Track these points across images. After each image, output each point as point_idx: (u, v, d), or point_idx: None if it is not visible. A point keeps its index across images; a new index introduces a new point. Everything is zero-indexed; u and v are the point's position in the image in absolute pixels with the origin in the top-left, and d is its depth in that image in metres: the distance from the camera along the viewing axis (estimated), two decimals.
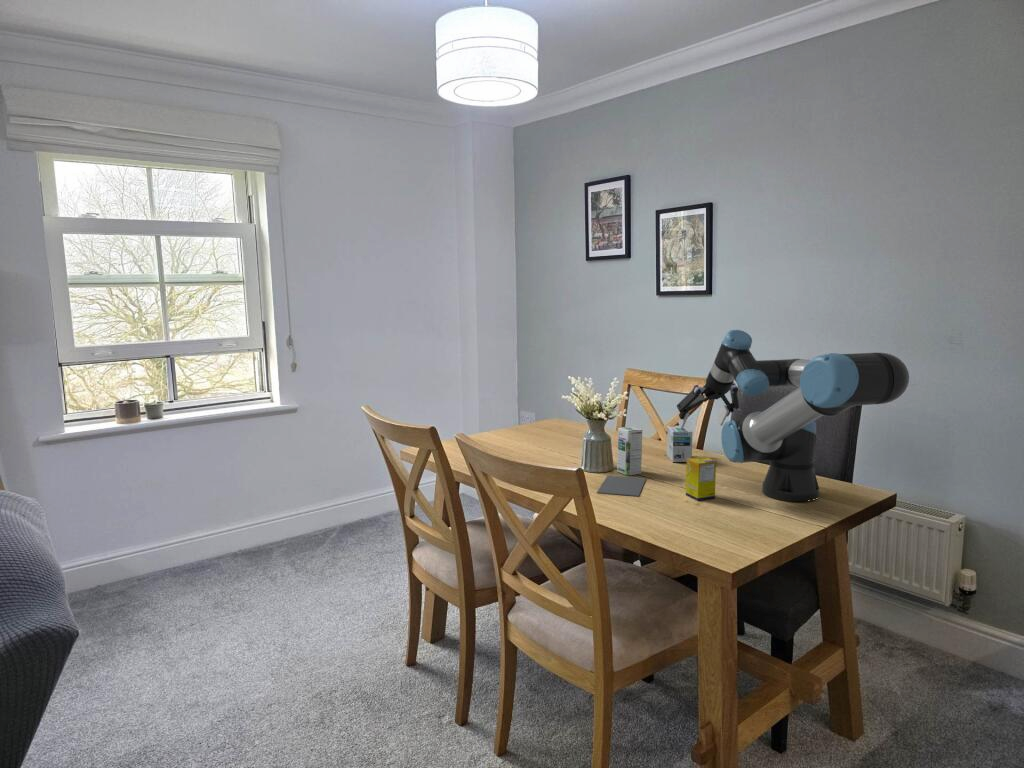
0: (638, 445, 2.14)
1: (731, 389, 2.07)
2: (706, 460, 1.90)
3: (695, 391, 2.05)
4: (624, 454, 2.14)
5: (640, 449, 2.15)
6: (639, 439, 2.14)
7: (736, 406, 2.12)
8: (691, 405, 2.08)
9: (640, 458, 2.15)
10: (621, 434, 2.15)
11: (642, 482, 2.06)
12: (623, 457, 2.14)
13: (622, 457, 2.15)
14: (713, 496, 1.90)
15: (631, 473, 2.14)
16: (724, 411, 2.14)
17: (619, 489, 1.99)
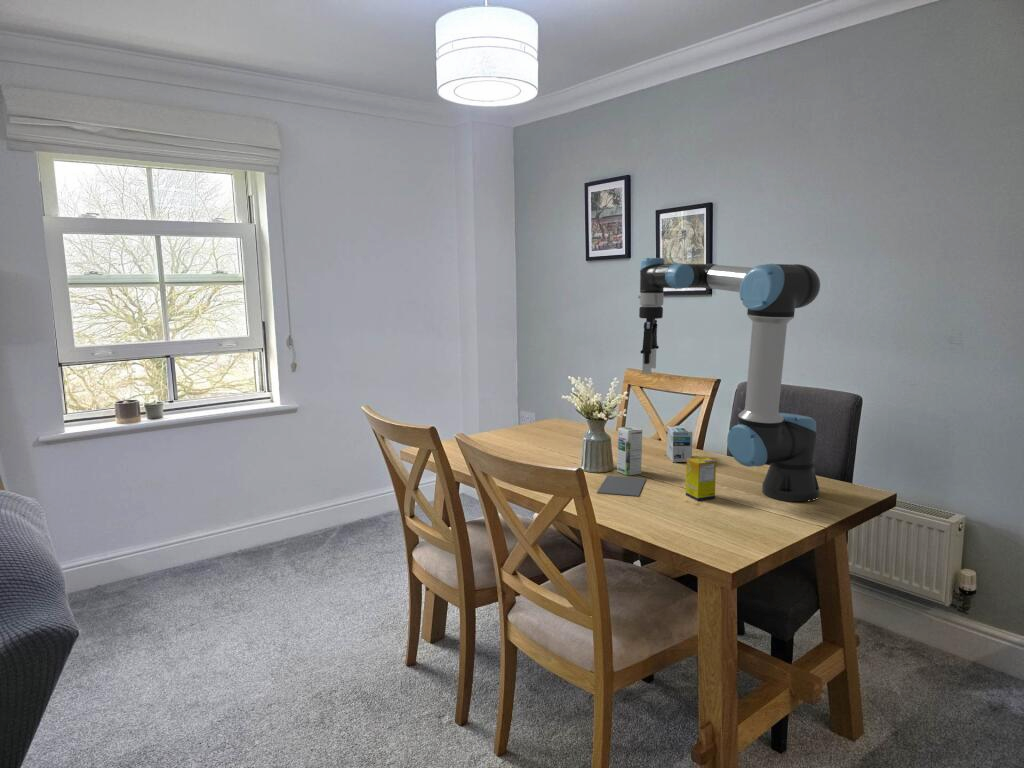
0: (638, 445, 2.14)
1: None
2: (706, 460, 1.90)
3: (649, 326, 2.15)
4: (624, 454, 2.14)
5: (640, 449, 2.15)
6: (639, 439, 2.14)
7: (656, 342, 2.31)
8: None
9: (640, 458, 2.15)
10: (621, 434, 2.15)
11: (642, 482, 2.06)
12: (623, 457, 2.14)
13: (622, 457, 2.15)
14: (713, 496, 1.90)
15: (631, 473, 2.14)
16: (652, 352, 2.29)
17: (619, 489, 1.99)
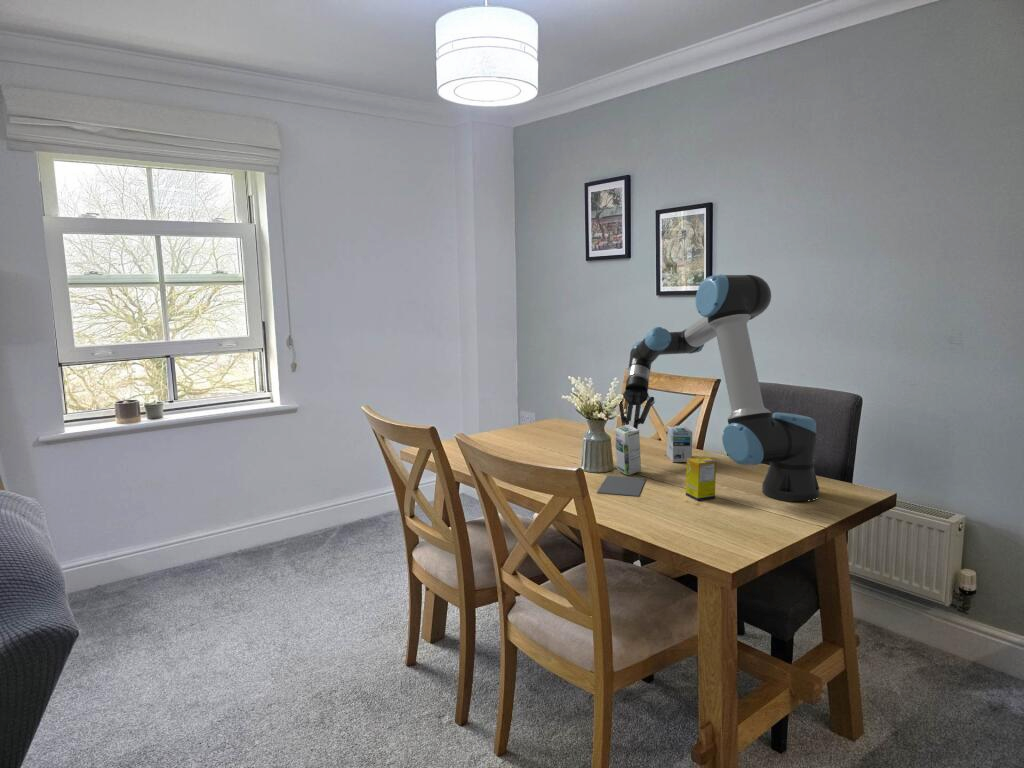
0: (636, 445, 2.12)
1: (648, 398, 2.26)
2: (706, 460, 1.90)
3: None
4: (622, 455, 2.13)
5: (638, 448, 2.13)
6: (636, 439, 2.12)
7: (641, 416, 2.22)
8: (627, 413, 2.24)
9: (639, 456, 2.14)
10: (618, 435, 2.12)
11: (642, 482, 2.06)
12: (622, 458, 2.13)
13: (621, 458, 2.14)
14: (713, 496, 1.90)
15: (631, 472, 2.14)
16: (631, 425, 2.21)
17: (619, 489, 1.99)
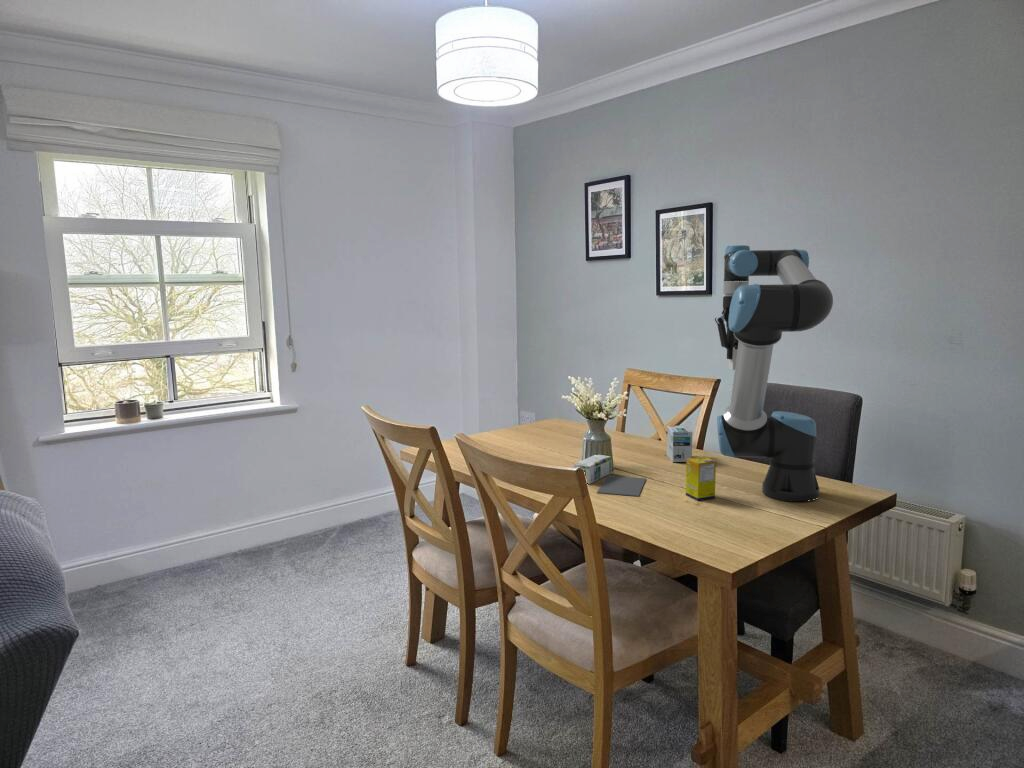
0: (585, 460, 2.11)
1: None
2: (706, 460, 1.90)
3: (718, 322, 2.14)
4: (602, 466, 2.11)
5: (585, 459, 2.12)
6: (581, 462, 2.09)
7: None
8: (729, 339, 2.15)
9: (590, 457, 2.15)
10: (592, 477, 2.06)
11: (642, 482, 2.06)
12: (603, 466, 2.12)
13: (603, 467, 2.12)
14: (713, 496, 1.90)
15: (606, 456, 2.16)
16: None
17: (619, 489, 1.99)
